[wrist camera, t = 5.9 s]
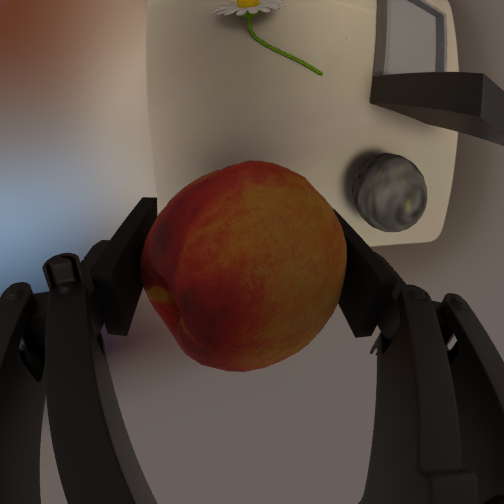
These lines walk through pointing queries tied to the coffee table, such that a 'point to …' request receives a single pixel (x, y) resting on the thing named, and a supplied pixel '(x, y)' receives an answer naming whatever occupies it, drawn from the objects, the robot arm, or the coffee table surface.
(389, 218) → the decorative stone
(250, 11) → the decorative flower
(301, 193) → the fruit
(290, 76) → the coffee table surface
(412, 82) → the tray with tall back
